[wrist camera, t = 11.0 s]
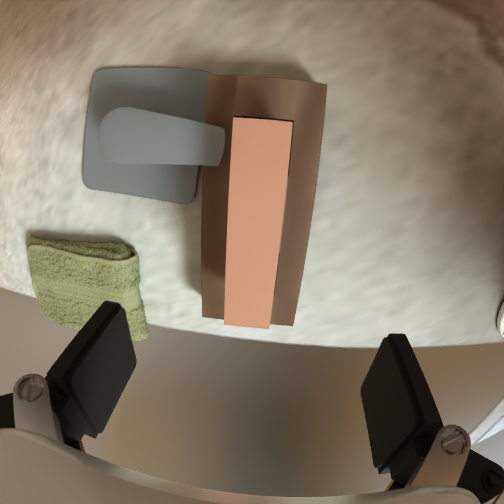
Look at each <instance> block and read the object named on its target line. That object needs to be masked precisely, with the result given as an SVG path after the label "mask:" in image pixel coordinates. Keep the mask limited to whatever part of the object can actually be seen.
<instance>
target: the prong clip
mask: <svg viewBox="0 0 504 504" xmlns="http://www.w3.org/2000/svg"><path fill="white" fill-rule="evenodd" d="M292 125H293V122H287V121H277V120H265V119H252V118H234V117H233V129H232V145H231V162H230V179H229V199H228V220H227V244H226V272H225V307H224V325H233V326H243V327H253V328H264V329H269V326H270V318H271V311H272V304H273V296H274V288H275V281H276V273H277V265H278V257H279V248H280V240H281V232H282V223H283V214H284V205H285V196H286V186H287V177H288V167H289V157H290V147H291V136H292Z"/></svg>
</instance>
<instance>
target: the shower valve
mask: <svg viewBox="0 0 504 504" xmlns="http://www.w3.org/2000/svg"><path fill="white" fill-rule="evenodd" d="M208 75H212V74H210V73H209V72H207V71H204V70H194V69H178V68H108V69H100V70H98V71H97V72H96V73H95V74H94V76H93V79H92V84H91V90H90V96H89V103H88V111H87V120H86V129H85V141H84V156H83V183H84V185H85V186H86V187H87V188H89V189H94V190H100V191H107V192H113V193H120V194H126V195H132V196H138V197H144V198H150V199H156V200H162V201H168V202H173V203H179V204H187V203H190V202H191V201H192V200H193V199H194V197H195V194H196V188H197V181H198V174H199V167H200V165H206V166H219V164H220V162H221V160H222V157H223V154H224V150H225V144H226V131H225V128H221V127H217V126H214V125H210V124H206V123H205V114H206V99H207V85H208Z"/></svg>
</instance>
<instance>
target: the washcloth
mask: <svg viewBox="0 0 504 504" xmlns="http://www.w3.org/2000/svg"><path fill="white" fill-rule="evenodd" d="M26 246H27V255H28V259H29V263H30V268H31V277H32V285H33V288H34V290H35V292H36V294H37V296H38V299H39V305H40V312H41V313H42V314H43V315H44V316H45V317H46V318H47V319H50V320H52V321H54V322H56V323H58V324H59V325H61V326H67V327H72V328H75V329H80V330H81V329H82V327H83V326H84V325H85V324H86V322H87V321H88V320H89V319H90V318H91V316H92V315H93V314H94V313H95V312H96V310H97V309H98V308H99V307H100V306H101V304H102V303H103V302H104V301H112V302H117V303H120V304H121V306H122V308H124V309H125V311H126V316H127V321H128V325H129V330H130V335H131V339H132V340H133V341H134V340H135V341H141V340H143V339H146V338H147V337H148V335H149V331H148V328H147V322H146V318H145V317H146V316H145V312H144V305H143V302H142V300H141V296H140V290H139V282H140V278H141V277H140V275H139V256H138V254H137V252H136V251H135V250H133V249H131V248H127V247H126V246H125V245H124V244H121V243H119V244H116V243H112V242H109V243H95V244H94V243H90V242H67V240H65V241H64V240H62V241H61V240H59V241H58V240H56V241H55V240H54V241H53V240H47V239H46V240H43V239H37V238H34V237H32V236H29V237H27V240H26Z"/></svg>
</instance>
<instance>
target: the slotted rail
mask: <svg viewBox="0 0 504 504" xmlns="http://www.w3.org/2000/svg"><path fill="white" fill-rule="evenodd" d="M326 93H327V84H321V83H315V82H308V81H300V80H292V79H282V78H272V77H258V76H239V75H208V85H207V99H206V114H205V123H206V124H210V125H214V126H217V127H221V128H225V131H226V144H225V150H224V154H223V157H222V160H221V162H220V164H219V166H206V165H203V178H202V224H201V278H202V317H207V318H215V319H224V307H225V272H226V244H227V220H228V199H229V179H230V162H231V145H232V129H233V117H234V118H239V116H240V117H255V118H268V119H279V120H288V121H292V122H293V125H292V136H291V147H290V157H289V167H288V177H287V186H286V196H285V205H284V214H283V223H282V232H281V240H280V248H279V257H278V265H277V273H276V281H275V288H274V296H273V304H272V311H271V318H270V324H275V325H287V326H293V323H294V318H295V313H296V308H297V303H298V297H299V292H300V287H301V281H302V275H303V270H304V264H305V258H306V252H307V246H308V240H309V233H310V227H311V220H312V213H313V207H314V199H315V192H316V185H317V177H318V169H319V161H320V153H321V144H322V135H323V125H324V115H325V104H326Z"/></svg>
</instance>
